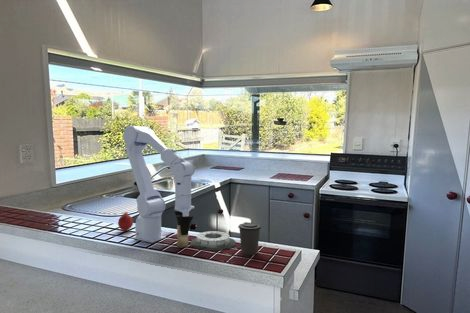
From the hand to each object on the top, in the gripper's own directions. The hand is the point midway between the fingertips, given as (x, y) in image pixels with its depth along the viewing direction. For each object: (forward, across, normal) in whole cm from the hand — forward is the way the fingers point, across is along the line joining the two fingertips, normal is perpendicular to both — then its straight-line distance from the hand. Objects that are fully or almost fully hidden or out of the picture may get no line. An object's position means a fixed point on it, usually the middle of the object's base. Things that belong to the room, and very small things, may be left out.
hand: (183, 232), depth 121 cm
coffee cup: (+5, -13, -21) cm, 25 cm away
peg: (+5, 0, 0) cm, 5 cm away
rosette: (+5, 0, -11) cm, 12 cm away
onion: (+5, +23, +21) cm, 32 cm away
